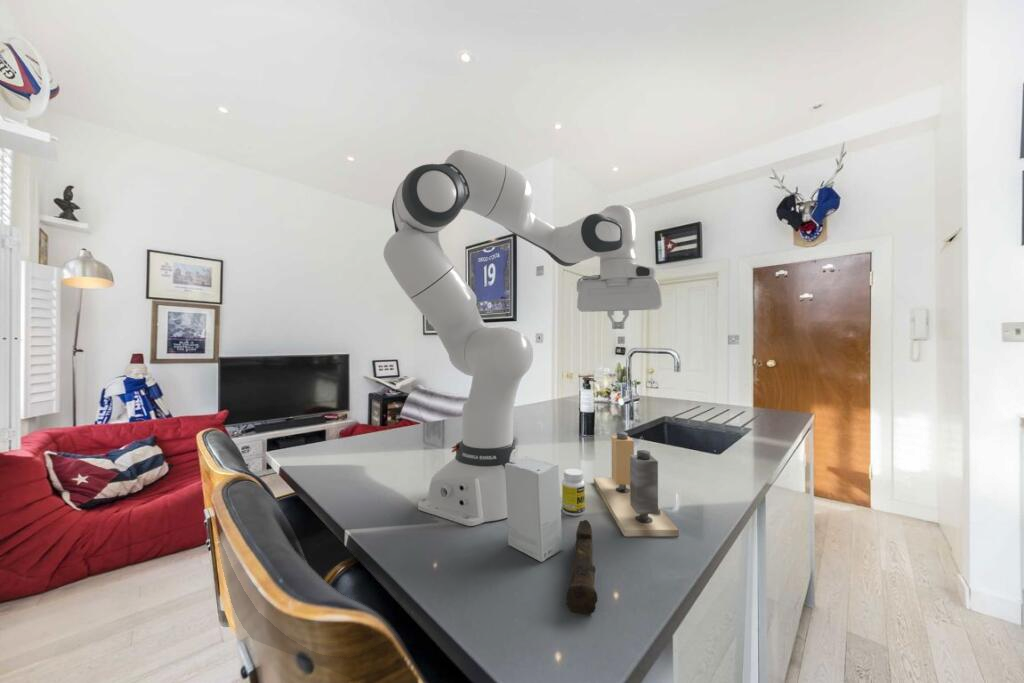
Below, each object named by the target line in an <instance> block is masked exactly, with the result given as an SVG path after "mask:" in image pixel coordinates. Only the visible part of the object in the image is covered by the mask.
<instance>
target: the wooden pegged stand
mask: <svg viewBox="0 0 1024 683" xmlns="http://www.w3.org/2000/svg"><path fill="white" fill-rule="evenodd" d="M658 464H659V461H658V460H657V459H656V458H654V457H653V456H652V455H651V452H650V451H649V450H647V449H646V450H644V449H639V450H637V451H636V454H634V455H630V484H626V490H621V489H619V485H616V483H615V482H614V481H613V479H612V477H593V484H594V486H595V487H596V489H597V491H598V492H599V494H600V497H602V499H603V501H604V503H605V505H606V507H607V508H608V510H609V512H610V515H611V516H612V517H613V519H614V521H615V522H616V525H617V526H618V528H619V529H620V531H621V533H622V535H623V536H624V537H679V536H680V535H679V529H678V527H677V526H676V525H675V524H674V522H672V520H671V519H670V518H669V517H668V516H667V515H666V514H665V512H664V511H663V510H662V509H661V508H660V507H659V465H658Z"/></svg>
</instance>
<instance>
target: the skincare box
mask: <svg viewBox="0 0 1024 683" xmlns="http://www.w3.org/2000/svg"><path fill="white" fill-rule="evenodd" d="M559 475H560V473H559V464H558V463H554V462H549V461H546V460H542V459H538V458H533V457H530V456H521V457H519V458H516V460H514V461H511V462H509V463H506V464H505V478H506V499H507V537H508V540H507V541H508V546H510V547H512V548H514V549H516V550H518V551H520V552H522V553H524V554H526V555H528V556H529V557H531V558H533V559H534V560H536V561H539V562H540V563H542V562H545V561H546V560H547V559H548V558H550V557H552V556H555V555H556V554H557V553H559V552H561V551H562V550H563V531H562V530H563V528H562V509H561V508H562V506H561V493H560V476H559Z"/></svg>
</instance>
